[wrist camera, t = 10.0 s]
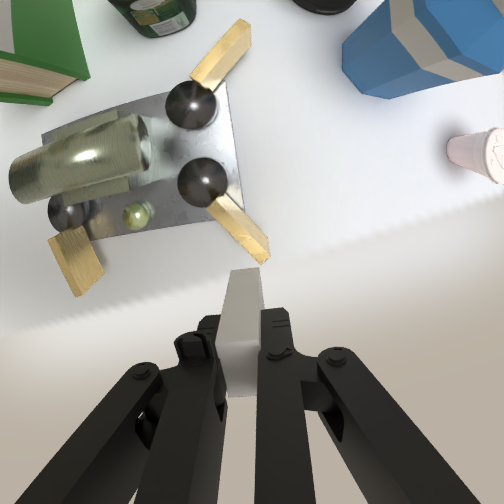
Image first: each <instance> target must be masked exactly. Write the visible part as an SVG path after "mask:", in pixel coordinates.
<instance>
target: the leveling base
mask: <svg viewBox="0 0 504 504" xmlns="http://www.w3.org/2000/svg"><path fill="white" fill-rule="evenodd" d="M212 92H213V93H214V94H215V96H216V98H217V101H218V112H217V115H216V117H215V119H214V120H213V121H212V122H211V123H210V124H209V125H208V126H206V127H205V128H202V129H199V130H187V129H184V128H180V127H178V126H176V125H174V124H173V123H172V122H171V121H170V120H169V118H168V117H167V114H166V110H165V103H166V99H167V96H168V94H169V93H170V91H169V92H165V93H161V94H157V95H153V96H150V97H146V98H142V99H139V100H135V101H132V102H128V103H125V104H122V105H119V106H116V107H112V108H109V109H106V110H103V111H100V112H98V113H95V114H92V115H89V116H86V117H84V118H81V119H78V120H76V121H73V122H71V123H68V124H66V125H63V126H61V127H58V128H56V129H54V130H51V131H49V132H47V133H44V134H42V143H43V146H42V147H39V148H37V149H35V150H33V151H30V152H28V153H26V154H24V155H22V156H20V157H18V158H16V159H15V160H14V161H13V163H12V164H11V167H10V170H9V185H10V189H11V191H12V194H13V195H14V197H15V198H16V199H17V200H18V201H19V202H20V203H22V204H30V203H33V202H36V201H39V200H42V199H45V198H48V197H52V196H55V195H58V194H61V193H62V197H63V201H64V206H65V207H66V206H69V205H73V204H77V203H81V202H85V201H89V204H90V215H89V218H88V220H87V222H86V223H85V224H84V225H83V227H84V229H85V232H86V234H87V236H88V238H89V241H91V240H97V239H102V238H108V237H113V236H119V235H125V234H130V233H136V232H142V231H148V230H154V229H160V228H166V227H172V226H179V225H185V224H192V223H198V222H205V221H212V220H216V219H215V218H214V217H213V216H212V215H211V214H210V213H209V212H208V211H207V210H206V208H207V207H206V208H199V207H195V206H192V205H190V204H188V203H187V202H186V201H185V200H184V199H183V198H182V197H181V195H180V193H179V191H178V187H177V179H178V175H179V172H180V170H181V169H182V167H183V166H184V165H185V164H186V163H187V162H189V161H191V160H193V159H196V158H201V157H211V158H214V159H217V160H218V161H220V162H221V163H222V164H223V165H224V166H225V168H226V169H227V171H228V174H229V185H228V189H227V191H226V193H225V194H226V195H227V196H228V197H229V198H230V199H231V200H232V201H233V202H234V203H235V204H236V205H237V206H238V207H239V208H240V209H241V210H242V211H243V212H244V213H245V209H244V202H243V195H242V188H241V182H240V175H239V168H238V161H237V155H236V148H235V141H234V134H233V127H232V121H231V114H230V107H229V100H228V93H227V87H226V83H225V81H221V82H220V83H219V84H218V85H217V86H216V88H215V89H214V90H213V91H212ZM60 233H61V232H60Z"/></svg>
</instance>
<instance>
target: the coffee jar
mask: <svg viewBox="0 0 504 504" xmlns="http://www.w3.org/2000/svg"><path fill="white" fill-rule="evenodd" d="M108 1H109V2H110V3H111V4H112V5H113V6H114V7H115V8H116V9H117V10H118V11H119V12H120V13H121V14H122V15H123V16H124V17H125V18H126V19H127V20H128V22H129V23H130V24H131V25H132V26H133V27H134V28H135V29H136V30H137V31H138V32H139V33H140V34H142V35H143V36H146V37H158V36H163V35H167V34H171V33H174V32H176V31H179V30H181V29H183V28H185V27H186V26H188V25H189V24H190V23H191V22H192V21H193V19H194V17H195V15H196V0H108Z"/></svg>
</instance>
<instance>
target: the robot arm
mask: <svg viewBox="0 0 504 504" xmlns="http://www.w3.org/2000/svg"><path fill="white" fill-rule="evenodd" d="M174 345H175V348H176V351H177V354H178V358H179V363H178V365H177V366H175V367H172V368H168V369H164V370H159V368H158V366H157V365H156V364H154V363H151V362H143V363H138V364H136V365H134V366H132V367H131V368H130V369H128V371H127V372H126V373H125V374H124V375H123V376H122V377H121V378H120V380H119V381H118V382H117V383H116V384H115V385H114V387H113V388H112V389H111V390H110V391H109V392H108V393H107V395H106V396H105V397H104V398H103V399H102V401H101V402H100V403H99V404H98V405H97V406H96V407H95V408H94V410H93V411H92V412H91V413H90V414H89V415H88V417H87V418H86V419H85V420H84V421H83V422H82V424H81V425H80V426H79V427H78V428H77V429H76V431H75V432H74V433H73V434H72V435H71V437H70V438H69V439H68V440H67V441H66V443H65V444H64V445H63V446H62V447H61V448H60V450H59V451H58V452H57V453H56V454H55V455H54V457H53V458H52V459H51V460H50V461H49V463H48V464H47V465H46V466H45V467H44V469H43V470H42V471H41V472H40V473H39V475H38V476H37V477H36V478H35V479H34V481H33V482H32V483H31V484H30V485H29V487H28V488H27V489H26V490H25V491H24V493H23V494H22V495H21V496H20V498H19V499H18V500H17V501H16V503H15V504H128V503H129V501H130V500H131V498H132V496H133V495H134V493H135V492H136V490H137V488H138V491H137V494H136V497H135V501H134V504H217V499H218V490H219V481H220V471H221V462H222V452H223V444H224V435H225V426H226V417H227V409H228V406H227V401H226V398H225V396H226V389H227V393H228V397H244V396H257V417H256V459H255V496H254V504H316V499H315V491H314V482H313V474H312V465H311V457H310V450H309V442H308V435H307V427H306V419H305V413H304V410H310V411H318V415H319V417H320V419H321V420H322V422H323V424H324V426H325V427H326V429H327V431H328V433H329V435H330V437H331V438H332V440H333V442H334V444H335V445H336V447H337V449H338V451H339V453H340V454H341V456H342V458H343V460H344V462H345V463H346V465H347V467H348V469H349V471H350V472H351V474H352V476H353V478H354V479H355V481H356V483H357V485H358V486H359V488H360V490H361V492H362V493H363V495H364V497H365V499H366V500H367V502H368V504H481V503H480V502H479V501H478V500H477V498H476V497H475V496H474V495H473V494H472V492H471V491H470V490H469V489H468V487H467V486H466V485H465V484H464V483H463V481H462V480H461V479H460V478H459V477H458V475H457V474H456V473H455V472H454V470H453V469H452V468H451V467H450V466H449V464H448V463H447V462H446V461H445V460H444V458H443V457H442V456H441V455H440V454H439V452H438V451H437V450H436V449H435V448H434V446H433V445H432V444H431V443H430V442H429V440H428V439H427V438H426V437H425V436H424V435H423V433H422V432H421V431H420V430H419V428H418V427H417V426H416V425H415V424H414V423H413V421H412V420H411V419H410V418H409V417H408V416H407V414H406V413H405V412H404V411H403V410H402V408H401V407H400V406H399V405H398V404H397V402H396V401H395V400H394V399H393V398H392V397H391V395H390V394H389V393H388V392H387V391H386V390H385V388H384V387H383V386H382V385H381V384H380V382H379V381H378V380H377V379H376V378H375V377H374V375H373V374H372V373H371V372H370V371H369V370H368V368H367V367H366V366H365V365H364V364H363V362H362V361H361V360H360V359H359V358H358V357H357V356H356V354H355V353H354V352H352V351H351V350H350V349H347V348H344V347H332V348H328V349H326V350H324V351H322V352H321V353H320V354H319V355H318V357H311V356H305V355H302V354H300V353H299V352H297V350H296V349H295V348H294V345H293V338H292V332H291V325H290V320H289V313H288V312H287V311H286V310H285V309H284V308H283V307H282V308H273V309H264V300H263V293H262V286H261V277H260V270H259V267H257V268H248V269H239V270H231V273H230V278H229V282H228V286H227V291H226V296H225V300H224V304H223V309H222V313H221V314H220V315H208V316H205V317H204V318H203V319H202V320H201V321H200V322H199V325H198V328H197V331H193V332H187V333H185V334H182V335H180V336H179V337H178V338H176V340H175V341H174ZM141 413H143V414H142V415H141V416H140V414H141ZM139 416H140V417H139ZM138 417H139V418H138Z"/></svg>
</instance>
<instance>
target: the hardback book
mask: <svg viewBox="0 0 504 504" xmlns="http://www.w3.org/2000/svg"><path fill="white" fill-rule="evenodd" d="M89 78H91V77H90V74H89V70H88V67H87V63H86V59H85V55H84V52H83V48H82V44H81V40H80V35H79V31H78V27H77V23H76V18H75V13H74V9H73V4H72V0H0V102H6V103H20V104H32V105H42V106H49V105H51V104H52V103H53V100H52V96H53V95H54V94H56V93H57V92H59V91H60V90H61V89H63V88H64V87H66V86H67V85H69V84H70V83H72V82H73V81H75V80H76V79H80V80H83V81H86V80H87V79H89Z"/></svg>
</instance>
